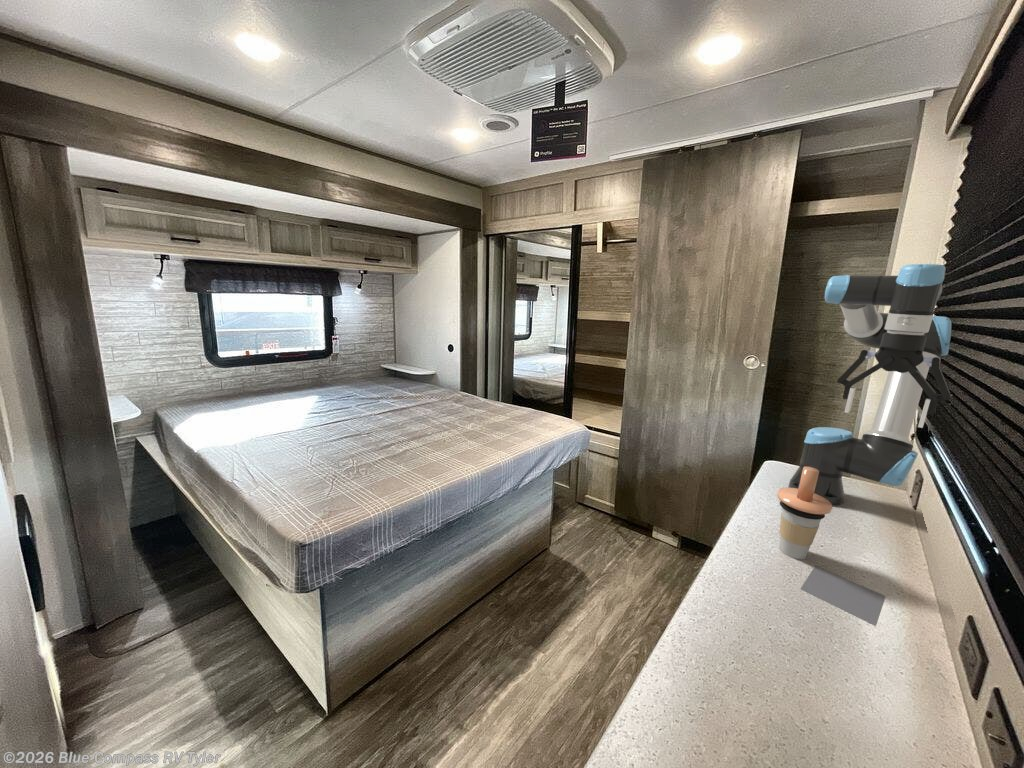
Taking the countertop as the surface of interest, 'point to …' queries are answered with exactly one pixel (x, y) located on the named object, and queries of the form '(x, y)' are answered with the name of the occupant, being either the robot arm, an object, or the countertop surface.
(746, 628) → the countertop surface
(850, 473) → the robot arm
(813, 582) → the mat
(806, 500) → the lid
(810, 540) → the coffee cup
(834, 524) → the countertop surface
